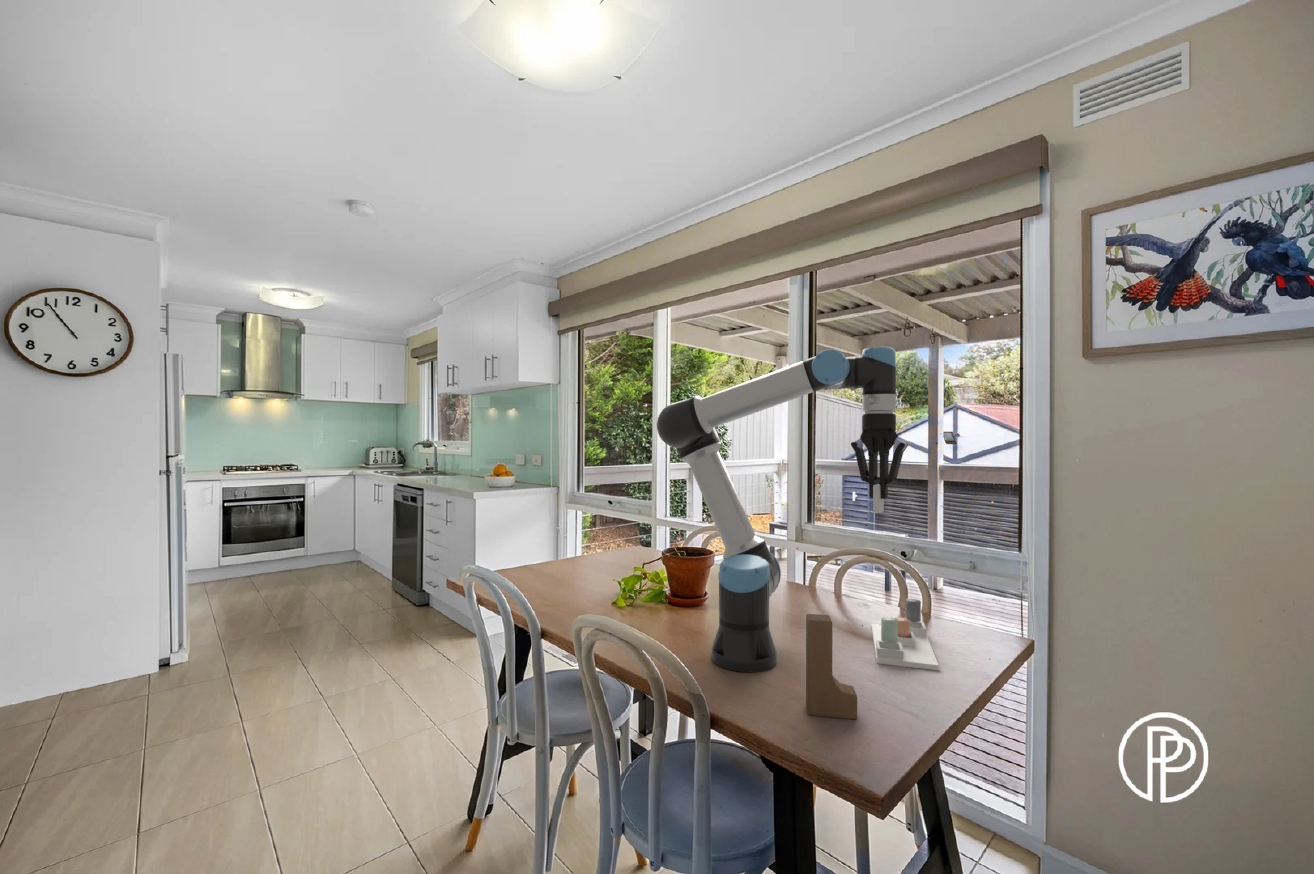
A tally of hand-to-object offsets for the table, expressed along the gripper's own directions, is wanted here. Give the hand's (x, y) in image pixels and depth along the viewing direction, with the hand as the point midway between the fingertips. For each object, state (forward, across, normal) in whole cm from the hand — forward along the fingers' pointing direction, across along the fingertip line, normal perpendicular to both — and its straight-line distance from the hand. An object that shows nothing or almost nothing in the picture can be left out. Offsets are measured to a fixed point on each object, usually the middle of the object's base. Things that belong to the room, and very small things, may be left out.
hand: (878, 512), depth 136 cm
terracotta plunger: (+33, +2, +10) cm, 34 cm away
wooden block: (+35, +4, -33) cm, 48 cm away
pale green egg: (+30, +3, 0) cm, 30 cm away
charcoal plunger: (+30, +2, +19) cm, 36 cm away
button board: (+34, +2, +10) cm, 36 cm away
